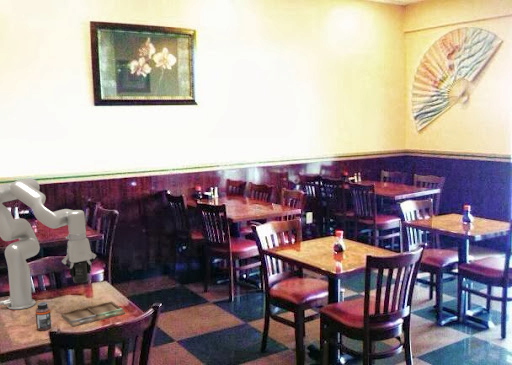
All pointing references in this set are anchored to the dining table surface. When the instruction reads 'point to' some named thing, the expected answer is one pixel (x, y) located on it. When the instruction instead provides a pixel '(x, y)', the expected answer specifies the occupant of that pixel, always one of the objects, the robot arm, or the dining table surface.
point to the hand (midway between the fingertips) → (80, 274)
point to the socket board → (92, 313)
